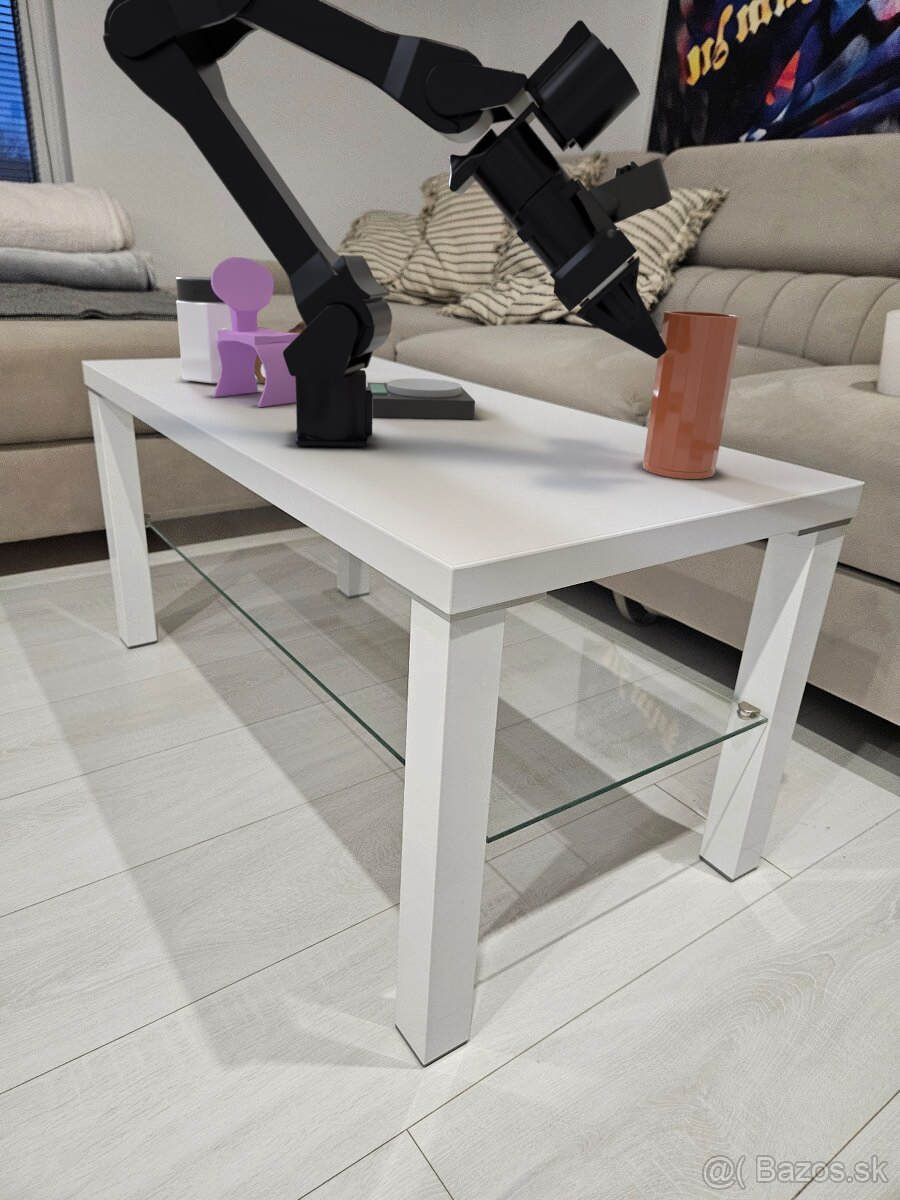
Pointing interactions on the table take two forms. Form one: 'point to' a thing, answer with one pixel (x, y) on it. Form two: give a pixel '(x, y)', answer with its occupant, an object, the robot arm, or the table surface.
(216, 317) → the jar
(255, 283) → the toy chair
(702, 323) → the cup
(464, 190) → the robot arm
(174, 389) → the table surface
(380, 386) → the scale
